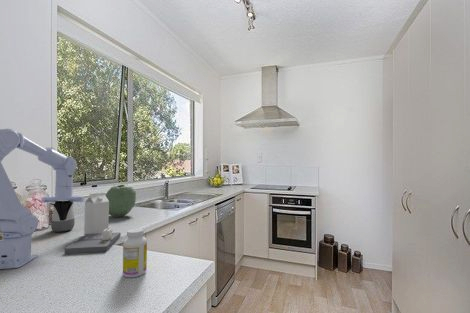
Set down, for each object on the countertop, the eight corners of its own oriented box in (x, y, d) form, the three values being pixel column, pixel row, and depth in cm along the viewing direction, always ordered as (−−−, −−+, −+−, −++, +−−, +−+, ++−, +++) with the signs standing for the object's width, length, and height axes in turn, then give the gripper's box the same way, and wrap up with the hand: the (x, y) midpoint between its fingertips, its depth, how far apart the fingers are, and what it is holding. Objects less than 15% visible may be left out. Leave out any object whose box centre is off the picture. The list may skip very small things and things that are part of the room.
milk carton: (83, 235, 108) (85, 193, 108) (99, 231, 114) (100, 192, 115) (93, 237, 104) (94, 194, 105) (108, 233, 111) (109, 192, 111)
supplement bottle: (139, 266, 76) (140, 226, 76) (150, 272, 72) (151, 229, 72) (118, 273, 71) (119, 230, 71) (129, 280, 66) (130, 234, 67)
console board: (106, 251, 88) (107, 244, 88) (64, 254, 85) (65, 246, 85) (120, 236, 106) (120, 230, 106) (86, 238, 103) (86, 232, 103)
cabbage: (100, 216, 146) (101, 183, 147) (132, 212, 157) (133, 182, 158) (103, 221, 134) (104, 185, 134) (138, 217, 144) (139, 184, 145)
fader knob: (108, 239, 95) (109, 230, 95) (102, 240, 94) (102, 230, 94) (112, 236, 98) (112, 227, 99) (105, 237, 98) (106, 228, 98)
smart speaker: (56, 228, 118) (57, 200, 118) (77, 227, 120) (78, 200, 121) (46, 234, 109) (47, 203, 109) (69, 232, 111) (70, 203, 111)
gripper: (87, 185, 101) (86, 217, 100) (49, 185, 98) (48, 218, 98) (80, 186, 94) (79, 221, 94) (39, 187, 91) (37, 222, 91)
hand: (63, 220), depth 95 cm, fingers closed
